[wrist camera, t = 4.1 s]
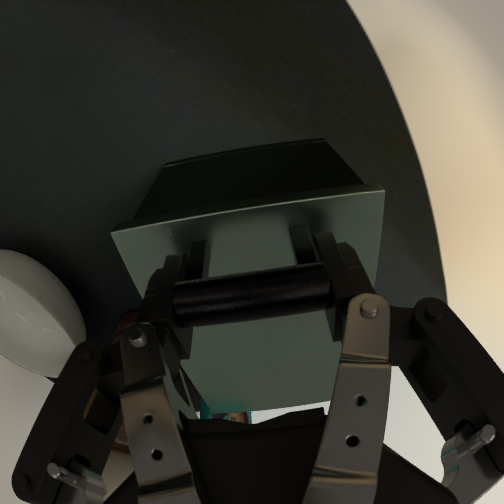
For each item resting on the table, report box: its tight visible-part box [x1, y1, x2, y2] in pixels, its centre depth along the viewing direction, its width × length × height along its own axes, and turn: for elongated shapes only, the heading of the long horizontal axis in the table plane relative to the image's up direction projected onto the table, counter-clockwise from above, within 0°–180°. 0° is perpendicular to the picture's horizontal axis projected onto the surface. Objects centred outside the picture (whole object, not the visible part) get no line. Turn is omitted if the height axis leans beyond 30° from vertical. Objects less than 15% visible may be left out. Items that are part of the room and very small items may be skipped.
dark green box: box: [132, 138, 364, 220], centre depth 22 cm, size 18×12×10 cm, turn 9°
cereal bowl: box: [0, 249, 86, 378], centre depth 25 cm, size 17×17×7 cm
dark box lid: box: [111, 183, 385, 414], centre depth 16 cm, size 18×12×5 cm, turn 9°
